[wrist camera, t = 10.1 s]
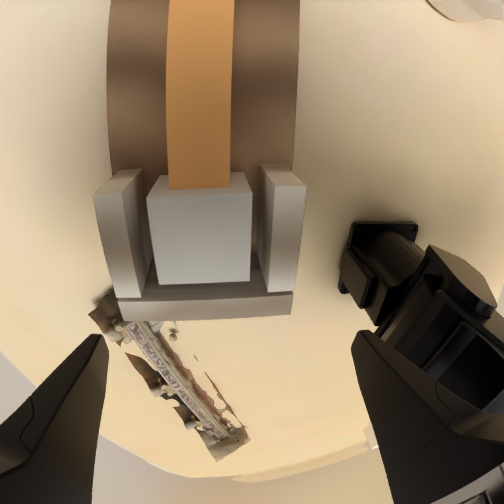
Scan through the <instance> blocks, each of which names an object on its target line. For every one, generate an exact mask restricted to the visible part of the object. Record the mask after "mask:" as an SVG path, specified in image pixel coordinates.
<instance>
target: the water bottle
mask: <svg viewBox="0 0 504 504" xmlns="http://www.w3.org/2000/svg"><path fill="white" fill-rule="evenodd" d="M428 1H429V2H430V3H431V4H432V5H433V6H434V7H435V8H436V9H437V10H438V11H439V12H441V13H442V14H443V15H445V16H446V17H448V18H450V19H452V20H455V21H460V22H467V21H478V20H483V19H488V18H489V19H495V20H504V0H428Z"/></svg>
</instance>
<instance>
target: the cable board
mask: <svg viewBox="0 0 504 504" xmlns="http://www.w3.org/2000/svg"><path fill="white" fill-rule="evenodd" d="M169 2H170V0H111V7H110V16H109V28H108V43H107V118H108V135H109V148H110V158H111V168H112V178H110V179H109V180H108V181H107V182H106V183H105V184H104V185H103V186H102V187H101V188H100V189H99V190H98V191H97V192H95V193H94V194H93V201H94V207H95V212H96V217H97V222H98V227H99V232H100V237H101V241H102V246H103V250H104V254H105V258H106V262H107V266H108V270H109V273H110V277H111V281H112V284H113V288H114V291H115V295H116V298H119V300H118V304H119V308H120V311H121V314H122V317H123V320H124V321H184V320H212V319H232V318H248V317H263V316H275V315H287V314H291V307H292V301H293V292H292V291H294V287H295V280H296V273H297V266H298V258H299V250H300V243H301V235H302V226H303V218H304V209H305V199H306V190H307V186H306V185H305V184H304V183H303V182H302V181H301V180H300V179H299V178H298V177H297V176H296V175H295V174H294V173H293V172H292V160H293V146H294V131H295V114H296V96H297V75H298V50H299V14H300V0H235V1H234V22H233V48H232V79H231V123H230V172H244V174H245V177H246V179H247V181H248V184H249V186H250V189H251V191H252V193H253V195H252V225H251V255H250V281H240V282H219V283H194V284H165V285H159V281H158V276H157V270H156V264H155V258H154V252H153V245H152V238H151V231H150V224H149V216H148V208H147V199H146V198H147V196H148V194H149V193H150V191H151V189H152V188H153V186H154V184H155V183H156V181H157V179H158V178H159V176H160V175H169V172H168V154H167V128H166V56H167V32H168V15H169Z"/></svg>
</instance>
